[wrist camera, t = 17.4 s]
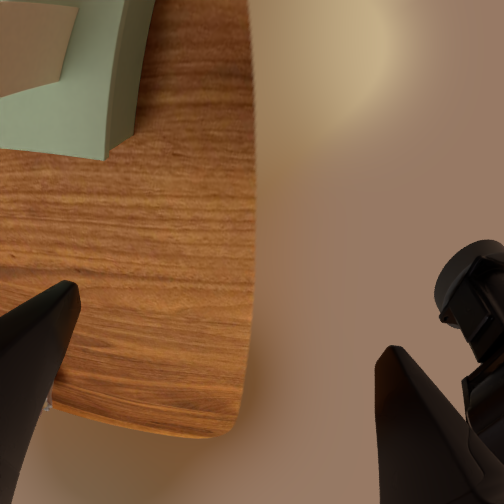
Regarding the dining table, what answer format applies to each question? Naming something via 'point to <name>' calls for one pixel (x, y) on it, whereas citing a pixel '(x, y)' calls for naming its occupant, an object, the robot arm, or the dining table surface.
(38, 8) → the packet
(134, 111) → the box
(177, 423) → the dining table surface
